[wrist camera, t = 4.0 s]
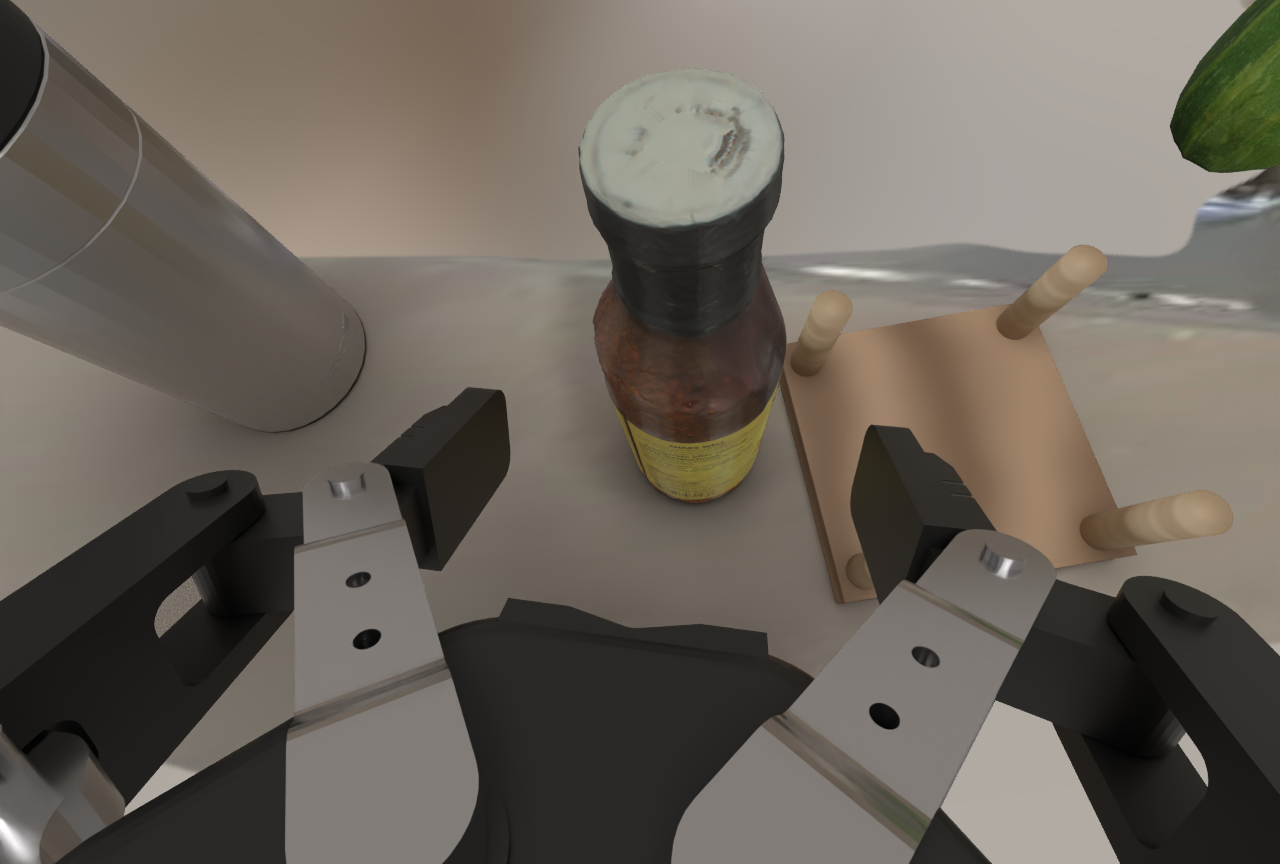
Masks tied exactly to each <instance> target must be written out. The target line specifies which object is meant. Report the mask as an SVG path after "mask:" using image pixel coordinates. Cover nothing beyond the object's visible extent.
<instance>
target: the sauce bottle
mask: <svg viewBox="0 0 1280 864" xmlns="http://www.w3.org/2000/svg"><path fill="white" fill-rule="evenodd" d="M579 158H580V160H579V163H580V164H579V166H580V174H581V179H582V184H583V188H584V192H585V196H586V199H587V205H588V210H589V213H590V216H591V218H592V220H593V223H594V225H595V227H596V228H597V229H598V230H599V232H600V234H601V236H602V237H603V239H604V240H605V242H606V243H607V245H608V249H609V253H610V257H611V261H612V264H613V269H612V277H613V278H612V280H611V281H610V283H609V284H608V286H607V287H606V289H605V290H604V292H603V293H602V296H601V298H600V300H599V303H598V307H597V309H596V311H595V315H594V318H593V324H594V330H595V338H594V339H595V346H596V350H597V354H598V357H599V362H600V364H601V367H602V371H603V372H604V374H605V381H606V387H607V390H608V392H609V395H610V398H611V400H612V402H613V405H614V407H615V410H616V413H617V415H618V418H619V420H620V422H621V425H622V427H623V430H624V432H625V434H626V437H627V439H628V441H629V444H630V446H631V449H632V451H633V454H634V456H635V459H636V461H637V463H638V466H639V468H640V469H641V471H642V473H643V474H646V475H647V478H648V480H649V482H650V483H651V484H652V485H653V486H654V487H655V488H656V489H658V490H659V491H661V492H662V493H663V494H665V495H668V496H670V497H671V498H675V499H679V500H683V501H685V502H690V503H704V502H706V501H710V500H713V499H716V498H719V497H721V496H723V495H725V494H728V493H729V492H730V491H732V490H734V489H735V488H736V487H738V485H739V484H740V483H741V481H742V480H743V479H744V478H745V476H746V475H747V474H748V472H749V471H750V469H751V468H752V466H753V464H754V461H755V459H756V456H757V453H758V450H759V447H760V443H761V440H762V437H763V434H764V430H765V427H766V424H767V421H768V417H769V414H770V410H771V407H772V403H773V401H774V398H775V393H776V390H777V388H778V385H779V381H780V377H781V373H782V370H783V365H784V360H785V355H786V330H785V324H784V320H783V316H782V313H781V310H780V308H779V305H778V303H777V300H776V298H775V295H774V292H773V290H772V287H771V285H770V282H769V280H768V277H767V275H766V272H765V270H764V267H763V265H762V253H761V249H762V242H763V234H764V230H765V227H766V226H767V225H768V223H769V222H770V221H771V220H772V217H773V215H774V213H775V210H776V208H777V205H778V203H779V198H780V193H781V185H782V170H783V163H784V133H783V130H782V127H781V124H780V121H779V119H778V117H777V114H776V112H775V110H774V108H773V107H772V106H771V104H770V103H769V102H768V101H767V100H766V98H765V97H764V95H763V93H762V92H760V91H759V90H758V89H756V88H755V87H754V86H752V85H751V84H749V83H748V82H746V81H744V80H742V79H740V78H738V77H736V76H734V75H731V74H726V73H721V72H716V71H710V70H702V69H683V70H674V71H665V72H660V73H655V74H649V75H644V76H642V77H640V78H639V79H636V80H634V81H632V82H631V83H628V84H626V85H624V86H622V87H621V88H620V89H618V90H617V91H616V92H615V93H613V94H612V95H611V96H609V97H608V98H607V99H606V100H605V101H604V102H603V103H602V104H601V105H600V106H599V107H598V109H597V110H596V111H595V113H594V114H593V116H592V118H591V119H590V121H589V122H588V124H587V126H586V128H585V131H584V135H583V139H582V141H581V143H580V146H579Z"/></svg>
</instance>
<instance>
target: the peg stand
mask: <svg viewBox="0 0 1280 864" xmlns="http://www.w3.org/2000/svg"><path fill="white" fill-rule="evenodd" d="M1107 267H1108V261H1107V258H1106V256H1105V255H1104V254H1103V253H1102V252H1101V251H1100V250H1098V249H1097V248H1095V247H1092V246H1089V245H1078V246H1075V247H1073V248H1071V249H1070V250H1069V251H1068V252H1067V253H1066V254H1065V255H1064V256H1063V257H1062V258H1061V259H1059V260H1058V261H1057V262H1056V263H1055V264H1054V265H1053V266H1052V267H1051V268H1050V269H1049V270H1048V271H1047V272H1046V273H1045V274H1043V275H1042V276H1041V277H1040V278H1039V279H1038V280H1037V281H1036V282H1035V283H1034V284H1033V285H1032V286H1031V287H1030V288H1029V289H1027V290H1026V291H1025V292H1024V293H1023V294H1022V295H1021V296H1020V297H1019V298H1018V299H1017V300H1016V301H1015V302H1014V303H1013V304H1008V305H1002V306H997V307H991V308H986V309H980V310H974V311H969V312H963V313H958V314H952V315H946V316H941V317H935V318H930V319H924V320H918V321H913V322H907V323H902V324H896V325H890V326H885V327H879V328H874V329H868V330H862V331H857V332H851V333H846V334H840V333H841V332H842V330H843V328H844V326H845V324H846V323H847V321H848V319H849V317H850V315H851V313H852V309H853V307H852V303H851V301H850V299H849V298H848V297H847V296H846V295H845V294H843V293H842V292H839V291H834V290H829V291H825V292H823V293H821V294H819V295H818V296H817V297H816V299H815V301H814V303H813V306H812V308H811V311H810V313H809V315H808V318H807V320H806V323H805V325H804V328H803V330H802V332H801V335H800V337H799V340H798V342H795V343H790V344H786V355H785V360H784V365H783V370H782V373H781V377H780V385H781V389H782V393H783V397H784V401H785V405H786V408H787V412H788V416H789V420H790V424H791V428H792V432H793V436H794V440H795V444H796V447H797V451H798V455H799V459H800V463H801V467H802V471H803V475H804V479H805V482H806V486H807V490H808V494H809V498H810V502H811V506H812V510H813V514H814V517H815V521H816V525H817V529H818V533H819V537H820V541H821V545H822V549H823V552H824V556H825V560H826V564H827V568H828V572H829V576H830V580H831V584H832V587H833V591H834V595H835V599H836V603H847V602H853V601H859V600H865V599H871V598H877V595H876V591H875V588H874V585H873V582H872V579H871V576H870V573H869V570H868V566H867V563H866V560H865V557H864V554H863V551H862V548H861V544H860V541H859V538H858V535H857V532H856V529H855V526H854V523H853V519H852V516H851V510H850V497H851V489H852V485H853V481H854V477H855V473H856V469H857V465H858V461H859V457H860V453H861V449H862V445H863V441H864V437H865V433H866V431H867V429H868V427H869V426H870V425H883V426H894V427H905V428H909V429H910V430H911V431H912V433H913V434H914V436H915V438H916V439H917V441H918V442H919V444H920V446H921V447H922V449H923V450H924V452H928V453H934V454H936V455H937V456H939V457H940V458H941V459H943V460H944V461H945V462H947V463H948V464H950V465H951V466H952V467H954V469H955V470H956V472H957V473H958V475H959V476H960V478H961V479H962V481H963V485H966V487H967V488H968V489H969V491H970V492H971V494H972V498H975V500H976V501H977V503H978V504H979V506H980V507H981V509H982V510H983V511H984V513H985V514H986V516H987V517H988V519H989V520H990V522H991V523H992V525H993V526H994V528H995V529H996V531H997V532H1000V533H1004V534H1007V535H1010V536H1013V537H1015V538H1018V539H1020V540H1022V541H1024V542H1026V543H1028V544H1029V545H1031V546H1033V547H1034V548H1036V549H1037V550H1039V551H1040V552H1041V553H1042V554H1044V555H1045V556H1046V557H1047V558H1048V559H1049V560H1050V561H1051V563H1052V564H1053V566H1054V568H1060V567H1066V566H1072V565H1078V564H1084V563H1090V562H1096V561H1102V560H1108V559H1114V558H1121V557H1127V556H1133V555H1137V552H1136V550H1135V548H1134V546H1140V545H1147V544H1154V543H1161V542H1168V541H1176V540H1183V539H1190V538H1197V537H1204V536H1212V535H1219V534H1223V533H1225V532H1227V531H1228V530H1229V529H1230V528H1231V526H1232V524H1233V512H1232V510H1231V508H1230V506H1229V504H1228V503H1227V502H1226V501H1225V500H1224V499H1223V498H1222V497H1221V496H1219V495H1218V494H1216V493H1214V492H1211V491H1207V490H1196V491H1192V492H1188V493H1184V494H1179V495H1175V496H1171V497H1166V498H1162V499H1158V500H1153V501H1149V502H1145V503H1140V504H1136V505H1132V506H1127V507H1123V508H1119V509H1118V508H1117V506H1116V504H1115V502H1114V499H1113V497H1112V495H1111V492H1110V490H1109V488H1108V485H1107V483H1106V481H1105V478H1104V476H1103V474H1102V471H1101V469H1100V467H1099V465H1098V462H1097V460H1096V458H1095V455H1094V453H1093V451H1092V448H1091V446H1090V444H1089V441H1088V439H1087V437H1086V434H1085V432H1084V430H1083V427H1082V425H1081V423H1080V421H1079V418H1078V416H1077V414H1076V411H1075V409H1074V407H1073V404H1072V402H1071V400H1070V397H1069V395H1068V393H1067V390H1066V388H1065V386H1064V384H1063V381H1062V379H1061V377H1060V374H1059V372H1058V370H1057V367H1056V365H1055V363H1054V360H1053V358H1052V356H1051V353H1050V351H1049V349H1048V347H1047V344H1046V342H1045V340H1044V337H1043V335H1042V333H1041V330H1040V328H1039V325H1040V324H1042V323H1043V322H1044V321H1045V320H1047V319H1048V318H1049V317H1050V316H1052V315H1053V314H1054V313H1055V312H1057V311H1058V310H1059V309H1060V308H1062V307H1063V306H1064V305H1065V304H1066V303H1068V302H1069V301H1070V300H1071V299H1073V298H1074V297H1075V296H1076V295H1078V294H1079V293H1080V292H1081V291H1083V290H1084V289H1085V288H1086V287H1088V286H1089V285H1090V284H1091V283H1093V282H1094V281H1095V280H1096V279H1098V278H1099V277H1100V276H1101V275H1103V274H1104V273H1105V271H1106V270H1107Z"/></svg>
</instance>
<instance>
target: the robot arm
mask: <svg viewBox="0 0 1280 864" xmlns="http://www.w3.org/2000/svg"><path fill="white" fill-rule="evenodd" d="M0 325H1V326H3V327H5V328H8V329H10V330H13V331H15V332H18V333H20V334H22V335H25V336H27V337H30V338H32V339H35V340H37V341H39V342H42V343H44V344H47V345H49V346H52V347H54V348H56V349H59V350H61V351H64V352H66V353H69V354H71V355H73V356H76V357H78V358H81V359H83V360H86V361H88V362H90V363H93V364H95V365H98V366H100V367H103V368H105V369H107V370H110V371H112V372H115V373H117V374H119V375H122V376H124V377H127V378H129V379H132V380H134V381H136V382H139V383H141V384H144V385H146V386H149V387H151V388H153V389H156V390H158V391H161V392H163V393H166V394H168V395H170V396H173V397H175V398H178V399H180V400H182V401H184V402H187V403H189V404H191V405H194V406H196V407H199V408H201V409H204V410H206V411H208V412H211V413H213V414H216V415H218V416H221V417H223V418H226V419H228V420H230V421H233V422H235V423H238V424H240V425H243V426H246V427H248V428H251V429H254V430H257V431H266V432H278V431H287V430H291V429H294V428H298V427H301V426H304V425H306V424H308V423H310V422H312V421H314V420H316V419H318V418H320V417H321V416H323V415H324V414H325V413H327V412H328V411H329V410H331V409H332V408H333V407H335V406H336V404H337V403H338V402H339V401H340V400H341V399H342V398H343V397H344V396H345V395H346V394H347V392H348V391H349V389H350V388H351V386H352V385H353V383H354V381H355V380H356V378H357V375H358V373H359V371H360V368H361V366H362V362H363V357H364V352H365V336H364V331H363V328H362V324H361V321H360V319H359V318H358V316H357V314H356V313H355V311H354V309H352V308H351V307H350V306H349V305H348V304H347V303H346V302H345V301H344V300H343V299H342V298H341V297H340V296H339V295H337V294H336V293H335V292H334V291H333V290H332V289H331V288H330V287H329V286H328V285H326V284H325V283H324V282H323V281H322V280H321V279H320V278H319V277H318V276H317V275H315V274H314V273H313V272H312V271H311V270H310V269H309V268H308V267H307V266H306V265H305V264H304V263H303V262H302V261H300V260H299V259H298V258H297V257H296V256H295V255H294V254H293V253H292V252H290V251H289V250H288V249H287V248H286V247H285V246H284V245H283V244H281V243H280V242H279V241H278V240H277V239H276V238H275V237H274V236H272V235H271V234H270V233H269V232H268V231H267V230H266V229H265V228H264V227H262V226H261V225H260V224H259V223H258V222H257V221H256V220H255V219H254V218H252V217H251V216H250V215H249V214H248V213H247V212H246V211H245V210H244V209H243V208H241V207H240V206H239V205H238V204H237V203H236V202H234V200H232V199H231V198H230V197H229V196H228V195H227V194H226V193H225V192H224V191H223V190H221V189H220V188H219V187H218V186H217V185H216V184H215V183H214V182H213V181H211V180H210V179H209V178H208V177H207V176H206V175H205V174H204V173H203V172H201V171H200V170H199V169H198V168H197V167H196V166H195V165H194V164H193V163H191V162H190V161H189V160H188V159H187V158H186V157H185V156H184V155H183V154H181V153H180V152H179V151H178V150H177V149H176V148H175V147H174V146H173V145H171V144H170V143H169V142H168V141H167V140H166V139H164V138H163V137H162V136H161V135H160V134H159V133H158V132H157V131H156V130H155V129H154V128H152V127H151V126H150V125H149V124H148V123H147V122H146V121H145V120H144V119H142V118H141V117H140V116H139V115H138V114H137V113H136V112H135V111H133V109H131V108H130V107H129V106H128V105H127V104H126V103H124V102H123V101H122V100H121V99H120V98H119V97H118V96H116V95H115V94H114V93H113V92H112V91H111V90H110V89H109V88H107V87H106V86H105V85H104V84H103V83H102V82H101V81H100V80H99V79H97V78H96V77H95V76H94V75H93V74H92V73H91V72H89V70H88V69H86V68H85V67H84V66H83V65H82V64H80V62H79V61H77V60H76V59H75V58H74V57H73V56H72V55H71V54H70V53H69V52H67V51H66V50H65V49H64V48H63V47H62V46H61V45H60V44H58V43H57V42H56V41H55V40H54V39H53V38H52V37H51V36H50V35H49V34H47V33H46V32H45V31H44V30H43V29H42V28H41V27H40V26H38V25H37V24H36V23H35V22H34V21H33V20H31V19H30V18H29V17H28V16H27V15H26V14H25V13H24V12H23V11H22V10H21V9H19V8H18V7H17V6H16V5H15V4H14V3H13V2H12V1H10V0H0ZM509 463H510V442H509V431H508V420H507V409H506V400H505V396H504V393H503V392H502V391H501V390H494V389H483V388H472V387H468V388H466V389H465V390H464V391H463V392H462V393H461V394H460V395H459V396H458V397H456V398H455V399H454V400H453V401H452V402H451V403H450V404H449V405H448V406H442V407H440V408H438V409H436V410H433V411H431V412H429V413H427V414H425V415H423V416H422V417H421V418H420V419H419V420H418V421H416V422H415V423H414V424H413V425H412V427H411V428H409V429H407V430H406V431H405V432H404V433H403V434H402V435H401V438H399V437H398V438H397V439H396V440H395V441H394V442H393V443H391V444H390V445H389V446H388V447H387V448H386V449H385V450H384V451H382V452H381V453H380V454H379V455H378V456H377V457H376V458H374V459H373V460H372V461H371V462H353V463H346V464H341V465H337V466H334V467H331V468H328V469H326V470H324V471H322V472H320V473H318V474H316V475H315V476H313V477H312V478H311V479H309V480H308V481H307V483H306V484H305V485H304V487H303V492H297V493H284V494H272V495H262V493H261V490H260V488H259V485H258V482H257V479H256V477H255V476H254V475H253V474H251V473H249V472H246V471H240V470H225V471H217V472H212V473H207V474H203V475H200V476H197V477H194V478H191V479H188V480H186V481H184V482H182V483H179V484H177V485H176V486H174V487H172V488H171V489H169V490H168V491H166V492H165V493H163V494H162V495H160V496H159V497H157V498H155V499H154V500H152V501H151V502H149V503H148V504H146V505H145V506H143V507H142V508H140V509H139V510H137V511H136V512H134V513H133V514H131V515H130V516H128V517H127V518H125V519H124V520H122V521H121V522H119V523H118V524H116V525H115V526H113V527H112V528H110V529H109V530H107V531H106V532H104V533H103V534H101V535H100V536H98V537H97V538H95V539H94V540H92V541H91V542H89V543H88V544H86V545H85V546H83V547H81V548H80V549H78V550H77V551H75V552H74V553H72V554H71V555H69V556H68V557H66V558H65V559H63V560H62V561H60V562H59V563H57V564H56V565H54V566H53V567H51V568H50V569H48V570H47V571H45V572H44V573H42V574H41V575H39V576H38V577H36V578H35V579H33V580H32V581H30V582H29V583H27V584H26V585H24V586H23V587H21V588H20V589H18V590H17V591H15V592H14V593H12V594H10V595H9V596H7V597H6V598H4V599H3V600H1V601H0V864H992V863H991V862H990V861H989V860H988V859H987V858H986V857H985V856H984V855H983V853H982V852H981V851H980V850H979V849H978V848H977V847H976V846H975V845H974V844H973V843H972V842H971V841H970V839H969V838H968V837H967V836H966V835H965V834H964V833H963V832H962V831H961V830H960V829H959V828H958V827H957V825H956V824H955V823H954V822H953V821H952V820H951V819H950V818H949V817H948V816H947V815H946V814H945V812H944V811H943V810H942V809H941V806H942V804H943V802H944V800H945V798H946V796H947V794H948V792H949V790H950V788H951V786H952V784H953V782H954V780H955V778H956V776H957V774H958V772H959V770H960V768H961V767H962V765H963V762H964V760H965V759H966V757H967V755H968V753H969V751H970V749H971V747H972V745H973V743H974V741H975V739H976V737H977V735H978V733H979V731H980V729H981V727H982V725H983V723H984V721H985V719H986V717H987V716H988V714H989V712H990V710H991V708H992V706H993V704H994V702H995V700H996V701H999V702H1002V703H1004V704H1007V705H1010V706H1012V707H1014V708H1017V709H1020V710H1022V711H1025V712H1028V713H1030V714H1033V715H1035V716H1038V717H1040V718H1043V719H1046V720H1048V721H1051V722H1052V723H1053V725H1054V728H1055V730H1056V732H1057V734H1058V736H1059V738H1060V740H1061V742H1062V744H1063V747H1064V749H1065V751H1066V753H1067V755H1068V757H1069V759H1070V761H1071V763H1072V765H1073V767H1074V769H1075V771H1076V773H1077V776H1078V778H1079V780H1080V782H1081V784H1082V786H1083V788H1084V790H1085V792H1086V794H1087V796H1088V798H1089V800H1090V802H1091V804H1092V806H1093V809H1094V811H1095V813H1096V815H1097V817H1098V819H1099V821H1100V823H1101V825H1102V827H1103V829H1104V831H1105V833H1106V835H1107V837H1108V839H1109V842H1110V843H1111V846H1112V848H1113V850H1114V852H1115V854H1116V856H1117V858H1118V860H1119V862H1120V864H1280V656H1279V655H1278V654H1277V653H1276V652H1275V651H1274V650H1273V649H1272V648H1271V647H1270V646H1269V645H1268V644H1267V643H1266V642H1265V641H1264V640H1263V639H1262V638H1261V637H1260V636H1259V635H1258V634H1257V633H1256V632H1255V631H1254V630H1253V629H1252V628H1251V627H1250V626H1249V625H1248V624H1247V623H1246V622H1245V620H1243V619H1242V618H1241V617H1240V616H1239V615H1238V614H1237V613H1236V612H1234V611H1233V610H1232V609H1230V608H1229V607H1228V606H1226V605H1224V604H1223V603H1221V602H1220V601H1218V600H1216V599H1215V598H1213V597H1211V596H1209V595H1207V594H1205V593H1203V592H1201V591H1199V590H1197V589H1194V588H1192V587H1190V586H1187V585H1184V584H1181V583H1179V582H1176V581H1172V580H1168V579H1164V578H1159V577H1152V576H1137V577H1132V578H1130V579H1128V580H1126V581H1125V582H1124V584H1123V586H1122V588H1121V589H1120V591H1119V593H1118V594H1117V596H1116V598H1115V597H1112V596H1108V595H1105V594H1102V593H1098V592H1095V591H1092V590H1088V589H1085V588H1082V587H1078V586H1075V585H1072V584H1069V583H1066V582H1063V581H1060V580H1057V579H1056V576H1057V575H1056V570H1055V568H1054V566H1053V564H1052V563H1051V561H1050V560H1049V559H1048V558H1047V557H1046V556H1045V555H1044V554H1042V553H1041V552H1040V551H1039V550H1037V549H1036V548H1034V547H1033V546H1031V545H1029V544H1028V543H1026V542H1024V541H1022V540H1020V539H1018V538H1015V537H1013V536H1010V535H1007V534H1004V533H1000V532H997V531H996V529H995V528H994V526H993V525H992V523H991V522H990V520H989V519H988V517H987V516H986V514H985V513H984V511H983V510H982V509H981V507H980V506H979V504H978V503H977V501H976V500H975V498H972V494H971V492H970V491H969V489H968V488H967V487H966V485H963V481H962V479H961V478H960V476H959V475H958V473H957V472H956V470H955V469H954V467H952V466H951V465H950V464H948V463H947V462H945V461H944V460H943V459H941V458H940V457H939V456H937V455H936V454H934V453H928V452H924V450H923V449H922V447H921V446H920V444H919V442H918V441H917V439H916V438H915V436H914V434H913V433H912V431H911V430H910V429H909V428H905V427H894V426H883V425H870V426H869V427H868V429H867V431H866V433H865V437H864V441H863V445H862V449H861V453H860V457H859V461H858V465H857V469H856V473H855V477H854V481H853V485H852V489H851V497H850V510H851V516H852V519H853V523H854V526H855V529H856V532H857V535H858V538H859V541H860V544H861V548H862V551H863V554H864V557H865V560H866V563H867V566H868V570H869V573H870V576H871V579H872V582H873V585H874V588H875V591H876V595H877V598H878V601H879V604H880V606H879V607H878V608H877V609H876V610H875V611H874V613H873V614H872V615H871V616H870V617H869V618H868V619H867V621H866V622H865V623H864V624H863V625H862V626H861V627H860V628H859V630H858V631H857V632H856V633H855V634H854V635H853V636H852V638H851V639H850V640H849V641H848V642H847V643H846V644H845V645H844V647H843V648H842V649H841V650H840V651H839V652H838V653H837V655H836V656H835V657H834V658H833V659H832V660H831V661H830V663H829V664H828V665H827V666H826V667H825V668H824V669H823V670H822V672H821V673H820V674H819V675H818V676H817V677H816V678H815V679H814V678H813V677H811V676H810V675H809V674H807V673H805V672H804V671H802V670H800V669H799V668H797V667H795V666H794V665H792V664H789V663H787V662H785V661H783V660H781V659H779V658H776V657H774V656H771V655H768V644H767V633H763V632H755V631H748V630H741V629H733V628H726V627H718V626H711V625H704V624H694V625H680V626H665V627H650V628H629V627H625V626H622V625H619V624H617V623H614V622H611V621H608V620H606V619H603V618H600V617H597V616H595V615H592V614H589V613H586V612H584V611H581V610H578V609H575V608H573V607H570V606H563V605H556V604H549V603H541V602H534V601H526V600H519V599H512V598H508V600H507V602H506V604H505V606H504V608H503V610H502V612H501V614H500V616H499V617H496V618H488V619H482V620H476V621H472V622H468V623H465V624H461V625H458V626H455V627H452V628H450V629H447V630H444V631H442V632H440V633H438V634H437V631H436V627H435V624H434V620H433V617H432V613H431V610H430V606H429V603H428V599H427V596H426V592H425V589H424V585H423V582H422V578H421V575H420V571H419V568H420V569H428V570H435V571H441V570H442V569H443V567H444V566H445V565H446V563H447V562H448V560H449V559H450V557H451V556H452V554H453V553H454V551H455V550H456V548H457V547H458V545H459V544H460V543H461V541H462V540H463V538H464V537H465V535H466V534H467V532H468V531H469V529H470V528H471V526H472V525H473V523H474V522H475V520H476V519H477V518H478V516H479V515H480V513H481V512H482V510H483V509H484V507H485V506H486V504H487V503H488V501H489V500H490V498H491V497H492V496H493V494H494V493H495V491H496V490H497V488H498V487H499V485H500V484H501V482H502V481H503V479H504V478H505V476H506V474H507V471H508V468H509ZM191 576H192V577H193V580H194V582H195V584H196V586H197V588H198V591H199V593H200V595H201V597H202V599H201V600H200V601H199V602H198V603H197V604H196V605H195V606H193V607H192V608H191V609H190V610H189V611H188V612H187V613H186V614H185V615H184V616H183V617H182V618H180V619H179V620H178V621H177V622H176V623H175V624H174V625H173V626H172V627H171V628H170V629H169V630H168V631H166V632H165V633H164V634H163V635H162V636H161V637H160V638H159V637H158V636H157V634H156V631H155V627H154V621H155V616H156V613H157V611H158V608H159V607H160V605H161V603H162V602H163V601H164V600H165V598H166V597H167V596H169V595H170V594H171V593H172V592H173V591H174V590H175V589H177V588H178V587H179V586H180V585H181V584H182V583H184V582H185V581H186V580H187V579H188V578H189V577H191ZM293 610H294V642H295V714H294V717H293V718H291V719H289V720H287V721H286V722H284V723H282V724H281V725H279V726H277V727H276V728H274V729H272V730H270V731H269V732H267V733H265V734H264V735H262V736H260V737H258V738H257V739H255V740H253V741H252V742H250V743H248V744H247V745H245V746H243V747H241V748H240V749H238V750H236V751H235V752H233V753H231V754H229V755H228V756H226V757H224V758H223V759H221V760H219V761H217V762H216V763H214V764H212V765H211V766H209V767H207V768H206V769H204V770H202V771H200V772H199V773H197V774H195V775H194V776H192V777H190V778H188V779H187V780H185V781H184V782H182V783H180V784H178V785H177V786H175V787H173V788H172V789H170V790H168V791H166V792H165V793H163V794H161V795H159V796H158V797H156V798H155V799H153V800H151V801H149V802H148V803H146V804H144V805H143V806H141V807H139V808H137V809H136V810H134V811H132V812H131V813H129V814H127V815H125V816H124V812H125V807H126V806H127V805H128V804H129V803H130V802H131V800H132V799H133V798H134V797H135V796H136V795H137V793H138V792H139V791H140V790H141V789H142V787H143V786H144V785H145V784H146V783H147V782H148V780H149V779H150V778H151V777H152V776H153V775H154V774H155V772H156V771H157V770H158V769H159V768H160V766H161V765H162V764H163V763H164V762H165V761H166V759H167V758H168V757H169V756H170V755H171V754H172V752H173V751H174V750H175V749H176V748H177V747H178V745H179V744H180V743H181V742H182V741H183V740H184V738H185V737H186V736H187V735H188V734H189V733H190V731H191V730H192V729H193V728H194V727H195V726H196V724H197V723H198V722H199V721H200V720H201V719H202V717H203V716H204V715H205V714H206V713H207V711H208V710H209V709H210V708H211V707H212V706H213V704H214V703H215V702H216V701H217V700H218V699H219V697H220V696H221V695H222V694H223V693H224V692H225V690H226V689H227V688H228V687H229V686H230V685H231V683H232V682H233V681H234V680H235V679H236V678H237V676H238V675H239V674H240V673H241V672H242V671H243V669H244V668H245V667H246V666H247V665H248V663H249V662H250V661H251V660H252V659H253V658H254V656H255V655H256V654H257V653H258V652H259V651H260V649H261V648H262V647H263V646H264V645H265V644H266V642H267V641H268V640H269V639H270V638H271V637H272V635H273V634H274V633H275V632H276V631H277V630H278V628H279V627H280V626H281V625H282V624H283V623H284V621H285V620H286V619H287V618H288V617H289V615H290V614H291V613H292V612H293ZM1186 732H1187V734H1188V735H1189V736H1190V738H1191V739H1192V741H1193V742H1194V744H1195V745H1196V746H1197V748H1198V750H1199V751H1200V753H1201V755H1202V757H1203V759H1204V761H1205V764H1206V767H1207V772H1208V787H1207V786H1206V784H1205V783H1204V781H1203V780H1202V778H1201V777H1200V775H1199V774H1198V772H1197V771H1196V769H1195V768H1194V766H1193V765H1192V763H1191V762H1190V761H1189V759H1188V758H1187V756H1186V755H1185V753H1184V752H1183V751H1182V749H1181V747H1180V746H1179V744H1178V742H1179V741H1180V739H1181V738H1182V737H1183V736H1184V734H1185V733H1186Z"/></svg>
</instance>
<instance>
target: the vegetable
mask: <svg viewBox="0 0 1280 864" xmlns="http://www.w3.org/2000/svg"><path fill="white" fill-rule="evenodd" d="M1170 128H1171V132H1172V135H1173V139H1174V142H1175V143H1176V145H1177V146H1178V148H1179V150H1180V152H1181V154H1182V157H1183V158H1184V159H1186V160H1189V161H1191V162H1193V163H1194V164H1196V165H1198V166H1200V167H1201V168H1203V169H1205V170H1207V171H1208V172H1218V173H1228V172H1229V173H1230V172H1239V171H1247V170H1258V169H1267V168H1271V167H1274V166H1277V165H1279V164H1280V0H1256V1H1255V2H1254V3H1253V4H1252V5H1251V6H1250V7H1249V8H1248V9H1247V10H1246V11H1245V12H1244V13H1242V14H1241V16H1240V17H1239V18H1238V19H1237V20H1236V21H1235V22H1234V23H1233V24H1232V25H1231V26H1230V27H1229V29H1228V30H1227V31H1226V32H1225V33H1224V34H1223V35H1222V36H1221V37H1220V38H1219V39H1218V40H1217V42H1216V43H1215V44H1214V45H1213V46H1212V48H1211V49H1210V50H1209V51H1208V52H1207V54H1206V55H1205V56H1204V57H1203V58H1202V60H1201V61H1200V62H1199V64H1198V65H1197V67H1196V69H1195V70H1194V72H1193V74H1192V76H1191V77H1190V79H1189V81H1188V83H1187V84H1186V86H1185V87H1184V89H1183V91H1182V92H1181V94H1180V97H1179V99H1178V102H1177V105H1176V108H1175V111H1174V114H1173V118H1172V121H1171V124H1170Z"/></svg>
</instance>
